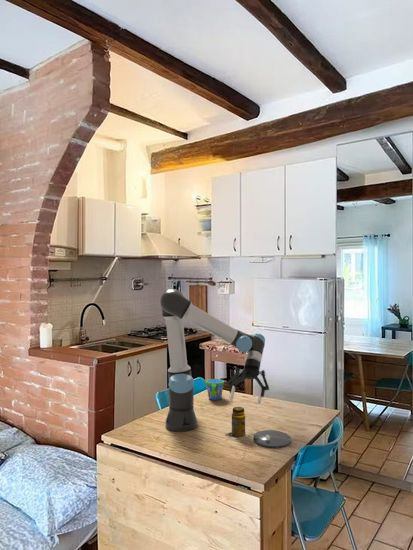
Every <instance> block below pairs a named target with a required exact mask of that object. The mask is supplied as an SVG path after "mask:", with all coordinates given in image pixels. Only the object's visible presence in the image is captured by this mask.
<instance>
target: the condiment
mask: <svg viewBox="0 0 413 550" xmlns="http://www.w3.org/2000/svg"><path fill="white" fill-rule="evenodd" d="M224 435H225V436H226V437H228V438H230V439H232V440H238V439H243V438H246V437H250V436H249V434H247V433H246V414H245V408H244V407H243V406H234V407H233V408H232V414H231V432H228V433H224Z"/></svg>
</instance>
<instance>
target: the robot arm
mask: <svg viewBox="0 0 413 550" xmlns="http://www.w3.org/2000/svg"><path fill="white" fill-rule="evenodd" d="M159 301H160V302H159V305H160V307H161V314H162V315H161V317H162V318H163V319H164V320H165V326H166V337H167V345H168V347H167V348H168V353H169V354H168V355H169V357H168V358H169V365H170V367H169V368H168V369H167V375H168V376H167V377H168V413H167V416H166V419H165V428H166V429H167V430H169V431H172V432H188V431H189V432H190V431H192V430H194V429H196V428H197V427H198V419H197V416H196V413H195V407H194V405H195V403H194V401H195V400H194V387H195V386H194V385H195V382H194V378H193V377H192V368H191V366H190V365H189V364H188V360H187V359H188V358H187V357H188V356H187V348H186V339H185V338H186V337H185V330H184V329H185V328H184V327H185V326H184V321H183V320H186V321H188V322H190V323H192V324H193V325H195V326H197V327H199V328H201V329H202V330H204V331H206V332H208V333H210V334H211V335H213V336H215V337H216V338H219V339H220V340H221V341H224V342H225V343H227V344H229V345H231V346H232V347H235V348H236V349H237V350H238V351H240V352H241V353H246V352H247V353H246V357H245V362H244V367H243V369H241V368H239V367H237V369H236V372H234V374H233V375H232V376H231V377H230V379H229V380H228V382H227V385H228V387H229V400H230V401H232V402H233V400H234V397H235V391H236V386H238V385H239V384H240V383H241V382H243V381H244V380H252V381H253V380H255V381H256V383H257V384H258V385H259V387H260V388H259V392H258V398H257V403H258V404H259V405H260V404H261V403H262V398H264V396H265V392H266V391H270V387H269V384H268V382H267V378H266V371H265V369H262V370H261V371H260V368H261V363H262V358H263V353H264V348H265V344H266V338H265V336H264V335H263V334H262V333H256V332H255V333H252V335H250V334H248V333H247V332H243V331H241V330H239V329H236V328H234V327H232V326H230V325H229V324H227V323H225V322H224V321H221V320H220V319H218V318H216V317H215V316H213V315H211V314H209V313H208V312H206V311H204V310H202V309H201V308H199V307H197V306H196V305H193V302H192V301H191V300H190V299H187V298H186V297H185V296H184V294H183V293H182V291H180V290H179V289H176V288H168V289H166V290H165V291H163V293H162V294H161V296H160V299H159ZM259 375H260V376H261V377H262V380H263V382H264V384H263V383H262V381H261V379H260V378H259ZM264 385H265V386H264Z"/></svg>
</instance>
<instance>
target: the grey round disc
mask: <svg viewBox="0 0 413 550" xmlns="http://www.w3.org/2000/svg"><path fill="white" fill-rule="evenodd" d="M252 439H253V440H252V441H253V442H254V444H255V445H257V446H260V447H263V448H265V449H266V448H268V449H280V448H281V449H283V448H286V447H288V446H289V445H291V440H292V439H291V436H290V435H289V434H288V433H287V432H283V431H280V430H274V429H267V430H265V429H263V430H260V431H256V432H255V433H254V434H253V438H252Z"/></svg>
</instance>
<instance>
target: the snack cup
mask: <svg viewBox="0 0 413 550" xmlns="http://www.w3.org/2000/svg"><path fill="white" fill-rule="evenodd" d="M205 385H206V390H207V398H208V399H209V400H211V401H212V400H213V401H219V400H221V399H222V396H223V390H224V385H225V381H224V379H220V378H210V379H209V378H208V379H206V380H205Z"/></svg>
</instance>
